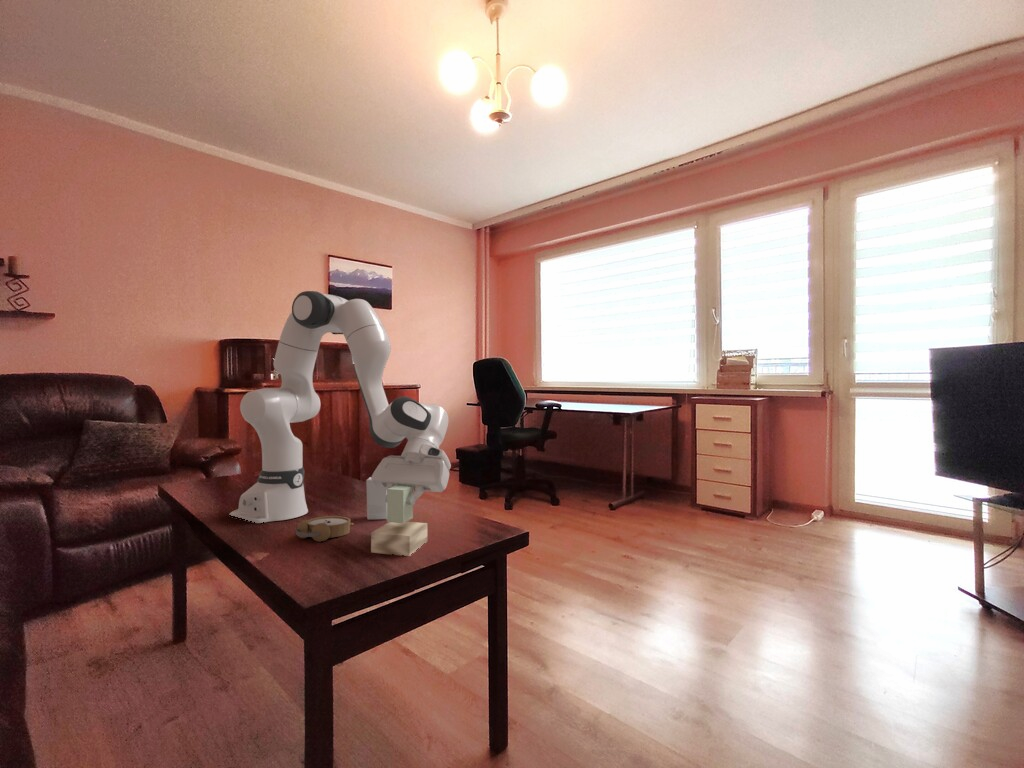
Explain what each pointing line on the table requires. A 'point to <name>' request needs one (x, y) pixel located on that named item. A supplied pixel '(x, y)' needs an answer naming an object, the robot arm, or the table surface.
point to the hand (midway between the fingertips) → (398, 502)
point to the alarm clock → (324, 527)
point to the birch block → (399, 538)
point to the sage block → (399, 504)
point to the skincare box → (376, 501)
